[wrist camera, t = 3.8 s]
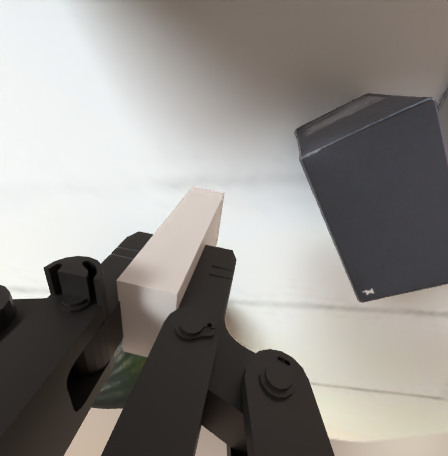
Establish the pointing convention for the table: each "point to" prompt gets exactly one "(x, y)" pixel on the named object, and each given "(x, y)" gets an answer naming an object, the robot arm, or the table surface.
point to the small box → (382, 191)
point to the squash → (120, 380)
